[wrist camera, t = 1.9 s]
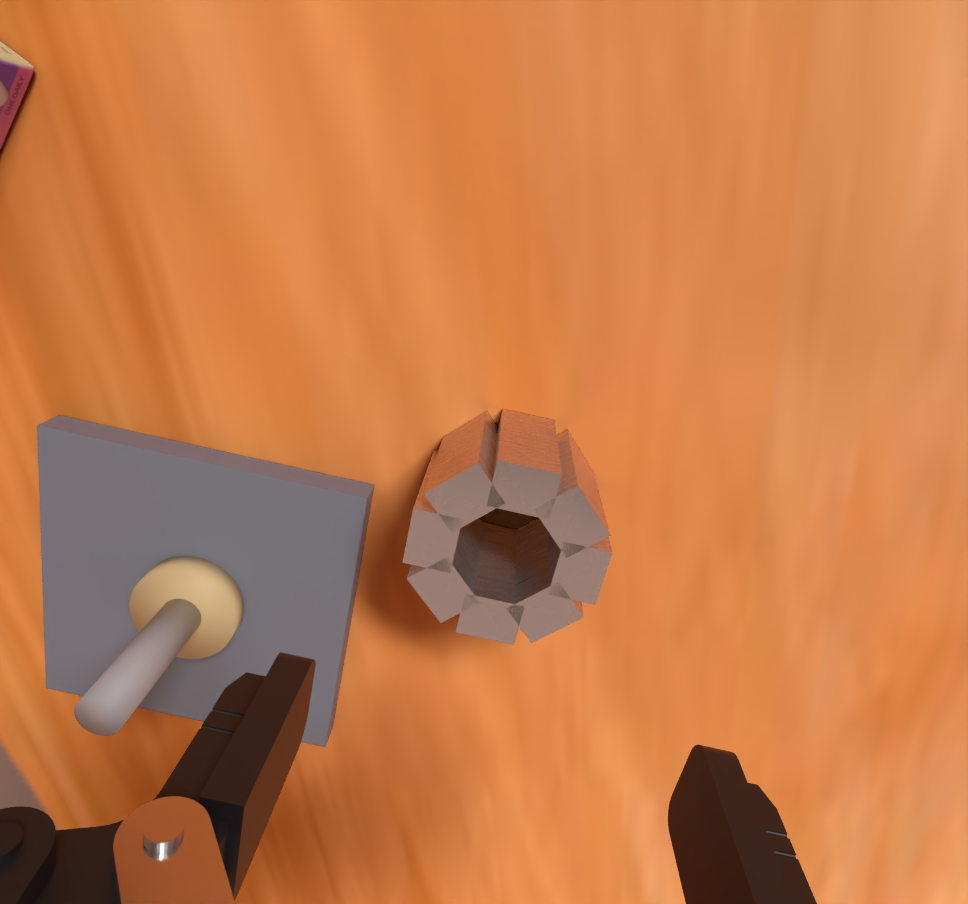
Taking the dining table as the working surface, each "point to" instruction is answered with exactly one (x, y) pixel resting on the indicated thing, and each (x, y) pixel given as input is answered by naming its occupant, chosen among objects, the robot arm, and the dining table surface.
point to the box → (11, 86)
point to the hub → (508, 530)
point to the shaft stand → (189, 572)
